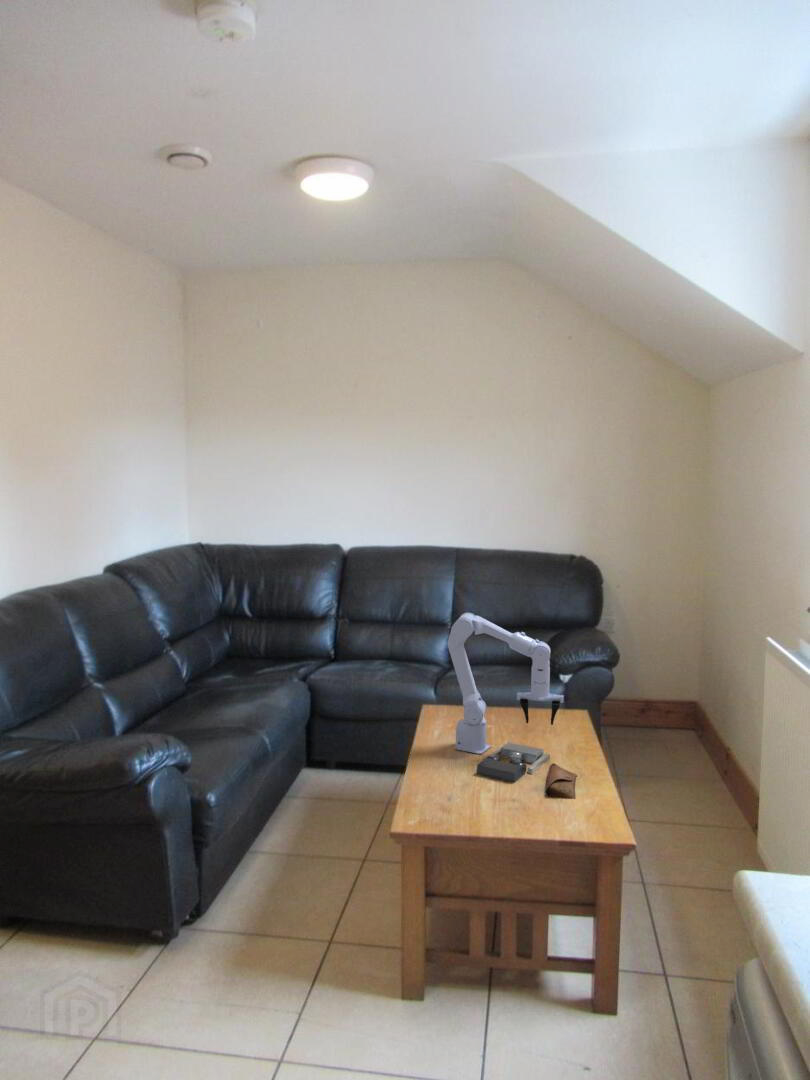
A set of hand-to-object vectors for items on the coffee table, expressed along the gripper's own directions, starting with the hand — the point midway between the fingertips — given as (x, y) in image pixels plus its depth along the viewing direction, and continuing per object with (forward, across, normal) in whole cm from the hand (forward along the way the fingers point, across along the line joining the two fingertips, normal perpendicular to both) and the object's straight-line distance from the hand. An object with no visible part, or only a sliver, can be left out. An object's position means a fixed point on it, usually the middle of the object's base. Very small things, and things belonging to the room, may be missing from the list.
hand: (539, 723), depth 241 cm
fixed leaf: (+10, -11, -18) cm, 23 cm away
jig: (+10, -6, -7) cm, 14 cm away
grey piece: (+10, -6, -5) cm, 13 cm away
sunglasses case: (+11, +7, -23) cm, 27 cm away
